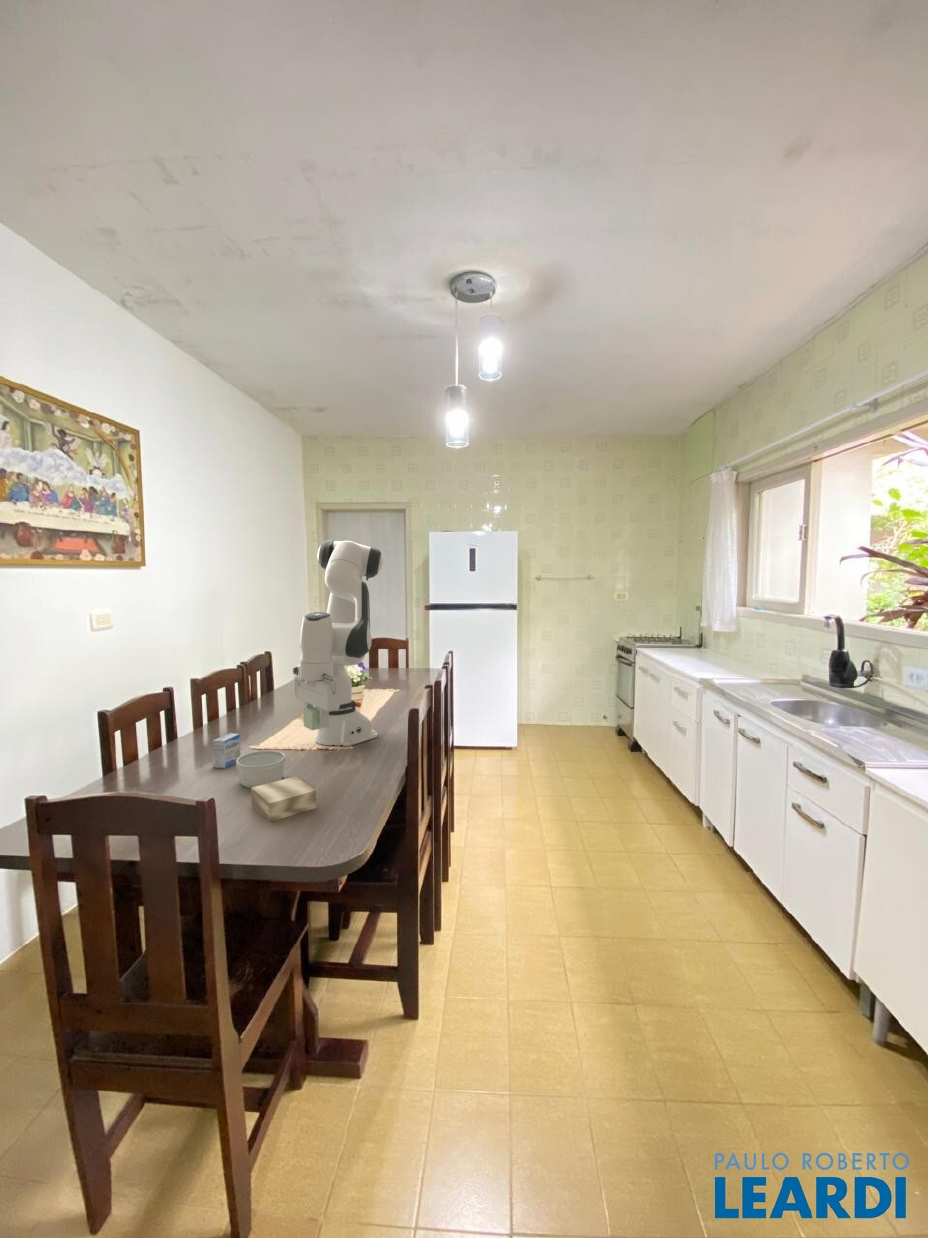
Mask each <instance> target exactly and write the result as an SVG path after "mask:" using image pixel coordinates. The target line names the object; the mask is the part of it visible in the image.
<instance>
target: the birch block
mask: <svg viewBox="0 0 928 1238" xmlns="http://www.w3.org/2000/svg"><path fill="white" fill-rule="evenodd" d="M250 790H251V791H250V794H251V799H250V801H251V802H250V803H251V804H250V805H251V806H252V807H253V808H254V809H255V810H256V811H257V812H258V813H259V814H260V815H262V816H263V817H264V818H265V819H266V820H267V821H268V822H270V823H271V822H274V821H277V820H281V819H284V818H287V817H291V816H294V815H297V814H301V813H304V812H306V811H310V810H314V809H316V808H317V790H316V789H315V788H313V787H312V786H310V785H309V784H307V783H306V782H304V781H303V780H301V778H300V777H299V778H298V777H297V776H295V775H294V776H292V777H287V778H284V779H283V778H282V779H280V780H279V781H275V782H272V783H268V784H264V785H260V786H256V787H252V788H250Z"/></svg>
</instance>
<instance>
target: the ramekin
mask: <svg viewBox="0 0 928 1238" xmlns="http://www.w3.org/2000/svg"><path fill="white" fill-rule="evenodd" d="M285 762H286V754H285V753H283V752H281V751H278V750H271V749H268V750H267V749H266V750H255V751H252V752H248V753H245V754H243V755H240V757H239V758H238V759H237V760H236V763H235V766H236V768H237V774H238V775H237V776H238V781H239V783H240V784H241V785H242V786H243V787H245V788H248V789H251V788H252V787H256V786H260V785H264V784H268V783H272V782H275V781H279V780H282V779H283V776H284V770H285Z"/></svg>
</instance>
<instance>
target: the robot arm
mask: <svg viewBox="0 0 928 1238" xmlns="http://www.w3.org/2000/svg"><path fill="white" fill-rule="evenodd" d="M316 556H317V561H318V565H319V566H320V568H322V569H324V570H325V573H324V583H325V586H326V587H327V589H328V590H329V591H330V594H329V598H328V604H327V610H326V612H325V611H324V612H322V611H314V612H310V613H306V614H305V615H304V616H303V617H302V622H301V627H300V636H299V637H300V638H299V640H300V642H299V645H300V646H299V647H300V650H301V655H300V658H299V664H297V665H295V666H293V668H292V675H294V677H293V694H294V697H295V699H297V700H298V701H300V702H301V701H302V702H304V707H305V708H310V707H318V708H319V712H320V715H319V717H318V723H320V724H324V723H326V717H327V714H328V712H329V727H327V728H322V729H317V734H316V737H315V742H316V743H318V744H319V745H322V746H323V745H324V746H332V745H335V746H340V745H343V746H342V747H351V746H354V745H356V744H360V743H363V742H366V741H368V740H369V741H370V740H372V739H375V738H377V737H378V735H379V734H378V732H377V731H376V730H374V729H372V723H371V721H370V719H369V718H368V717H367V716H365V715H364V714H362V713H361V712H360V711H358V710H357V708H361V707H362V703H361V702H360V701H358V700H357V701H354V700H353V699H352V697H353V696H352V695H353V694H352V693H353V691H352V690H353V689H352V687H353V685H352V683H353V682H352V678H351V676H350V675H349V674H348V672H347V670H346V667H350V666H357V665H358V664H361V663H362V661H363V660H364V659H365V657H366V655H367V654H368V653H369V652H370V650H371V647H372V634H371V618H370V617H371V611H370V609H371V608H370V592H369V591H370V590H369V587H368V584H367V582H365V581H369V579H371V578H375V577H376V576H377V575H378V574H379V572H380V571H381V569H382V567H383V556H382V552H381V551H380V549H378V548H376V547H373V546H367V545H365V544H360V543H357V542H354V541H351V540H343V541H338V540H334V539H326V540H324V541H323V542H322V543H321V544H320V546H319V547H318V551H317V555H316ZM364 577H365V581H364V579H363V578H364Z"/></svg>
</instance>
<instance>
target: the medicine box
mask: <svg viewBox="0 0 928 1238" xmlns="http://www.w3.org/2000/svg"><path fill="white" fill-rule="evenodd" d="M211 753H212V754H211V756H212V757H211V758H212V768H217V769H227V768H229V767H231V766H232V765H234V764H236V760H237V759H238V758H239V757H240V756H241V734H239V733H233V732H231V733H230V732H229V733H227V734H224V735H222V736H220V737H217V738H215V739H213V740H212V741H211Z"/></svg>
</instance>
